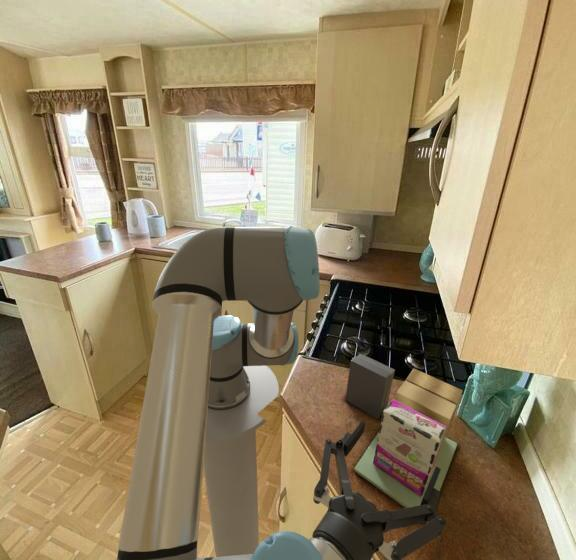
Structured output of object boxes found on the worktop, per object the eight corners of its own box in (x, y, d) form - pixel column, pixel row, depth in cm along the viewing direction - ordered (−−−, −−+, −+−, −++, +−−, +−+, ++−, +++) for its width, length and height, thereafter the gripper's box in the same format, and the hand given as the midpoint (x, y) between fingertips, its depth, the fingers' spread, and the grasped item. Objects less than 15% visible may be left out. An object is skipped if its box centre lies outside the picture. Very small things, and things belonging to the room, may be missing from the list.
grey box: (345, 399, 88) (350, 360, 82) (354, 388, 92) (360, 350, 86) (378, 419, 83) (386, 378, 77) (387, 406, 86) (395, 366, 81)
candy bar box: (429, 479, 67) (448, 426, 61) (421, 498, 64) (440, 443, 57) (381, 448, 74) (392, 396, 67) (371, 464, 70) (382, 411, 63)
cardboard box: (385, 442, 75) (396, 392, 69) (401, 415, 83) (413, 368, 76) (432, 471, 69) (450, 419, 62) (445, 439, 76) (462, 390, 70)
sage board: (353, 470, 70) (354, 468, 69) (393, 410, 85) (394, 408, 85) (427, 523, 61) (428, 521, 60) (456, 445, 76) (457, 443, 76)
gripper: (264, 509, 50) (335, 424, 65) (423, 665, 36) (467, 510, 50) (263, 480, 46) (339, 397, 61) (438, 639, 32) (481, 481, 47)
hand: (397, 448), depth 56 cm, fingers open, 13 cm apart
